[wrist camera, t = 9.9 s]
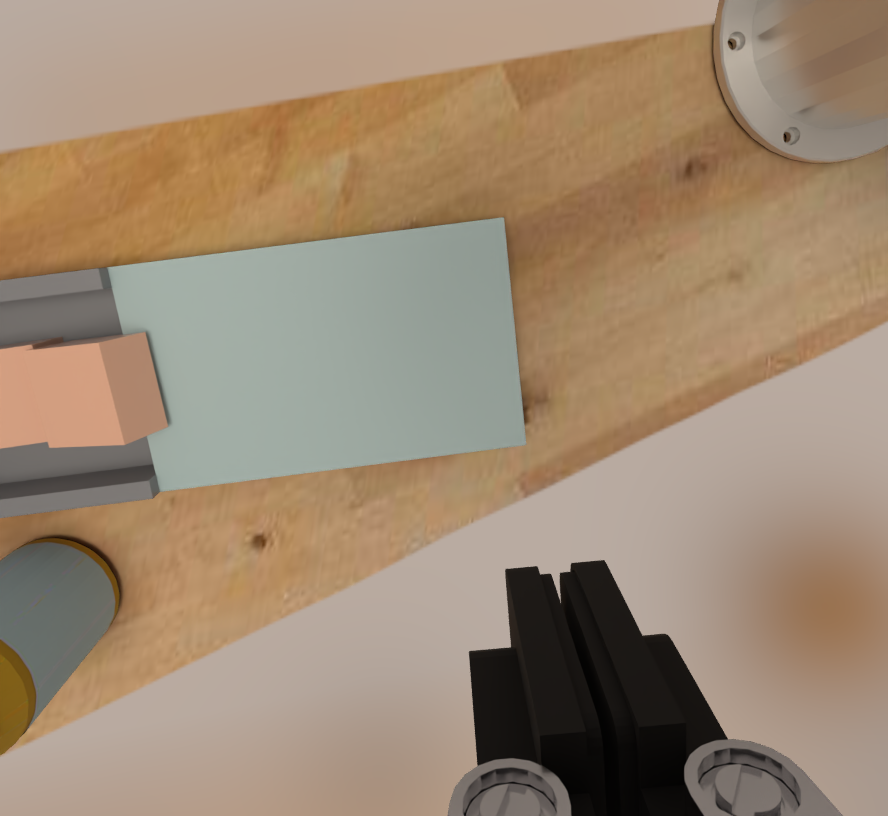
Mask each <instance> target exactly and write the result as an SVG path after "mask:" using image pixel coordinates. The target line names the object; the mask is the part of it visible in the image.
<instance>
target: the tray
mask: <svg viewBox="0 0 888 816" xmlns="http://www.w3.org/2000/svg"><path fill="white" fill-rule="evenodd" d="M114 335H123V332H122V328H121V324H120V320H119V315H118V311H117V307H116V303H115V298H114V294H113V290H112V286H111V281H110V277H109V273H108V269H107V268H96V269H88V270H80V271H72V272H65V273H57V274H49V275H41V276H33V277H25V278H17V279H9V280H1V281H0V346H1V345H8V344H15V343H22V342H29V341H35V340H42V339H49V338H56V337H62V338H63V341H64V342H66V341H71V340H79V339H88V338H97V337H106V336H114ZM159 492H160V490H159V486H158V481H157V477H156V473H155V469H154V464H153V460H152V456H151V452H150V447H149V443H148V439H147V436H145V437H143V438H140V439H138V440H136V441H133V442H131V443H128V444H126V445H111V446H85V447H59V448H49V445H48V442H42V443H35V444H29V445H22V446H15V447H8V448H1V449H0V518H4V517H12V516H20V515H28V514H36V513H43V512H51V511H59V510H67V509H75V508H83V507H90V506H98V505H106V504H114V503H122V502H129V501H137V500H145V499H153V498H154V497H155V496H156V495H157V494H158V493H159Z"/></svg>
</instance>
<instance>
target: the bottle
mask: <svg viewBox="0 0 888 816" xmlns="http://www.w3.org/2000/svg"><path fill="white" fill-rule="evenodd" d="M118 606H119V590H118V586H117V582H116V579H115V576H114V575H113V573H112V571H111V570H110V568H109V567H108V565H107V564H106V563H105V561H104V560H103V559H101V558H100V557H99V556H98V555H97V554H96V553H95V552H93V551H92V550H90V549H89V548H87V547H85V546H83V545H80V544H78V543H76V542H73V541H69V540H64V539H58V538H48V539H40V540H35V541H32V542H30V543H27V544H25V545H23V546H21V547H19V548H18V549H16V550H15V551H13V552H12V553H10V554H9V555H7V556H6V557H5V558H4V559H2V560H1V561H0V755H2V754H3V753H5V752H6V751H7V750H8V749H9V748H10V747H11V746H13V745H14V744H15V743H16V742H17V741H18V739H19V738H20V737H21V736H22V735H23V734H24V733H25V732H26V730H27V729H28V728H29V727H30V725H31V724H32V723H33V722H34V720H35V719H36V718H37V717H38V715H39V714H40V713H41V712H42V711H43V709H44V708H45V707H46V706H47V704H48V703H49V702H50V701H51V699H52V698H53V697H54V696H55V694H56V693H57V692H58V691H59V689H60V688H61V687H62V686H63V684H64V683H65V682H66V681H67V679H68V678H69V677H70V676H71V674H72V673H73V672H74V671H75V669H76V668H77V667H78V666H79V664H80V663H81V662H82V661H83V659H84V658H85V657H86V656H87V655H88V653H89V652H90V651H91V650H92V648H93V647H94V646H95V645H96V643H97V642H98V641H99V640H100V638H101V637H102V636H103V635H104V633H105V632H106V631H107V629H108V628H109V626H110V625H111V624H112V622H113V620H114V618H115V616H116V614H117V611H118Z"/></svg>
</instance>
